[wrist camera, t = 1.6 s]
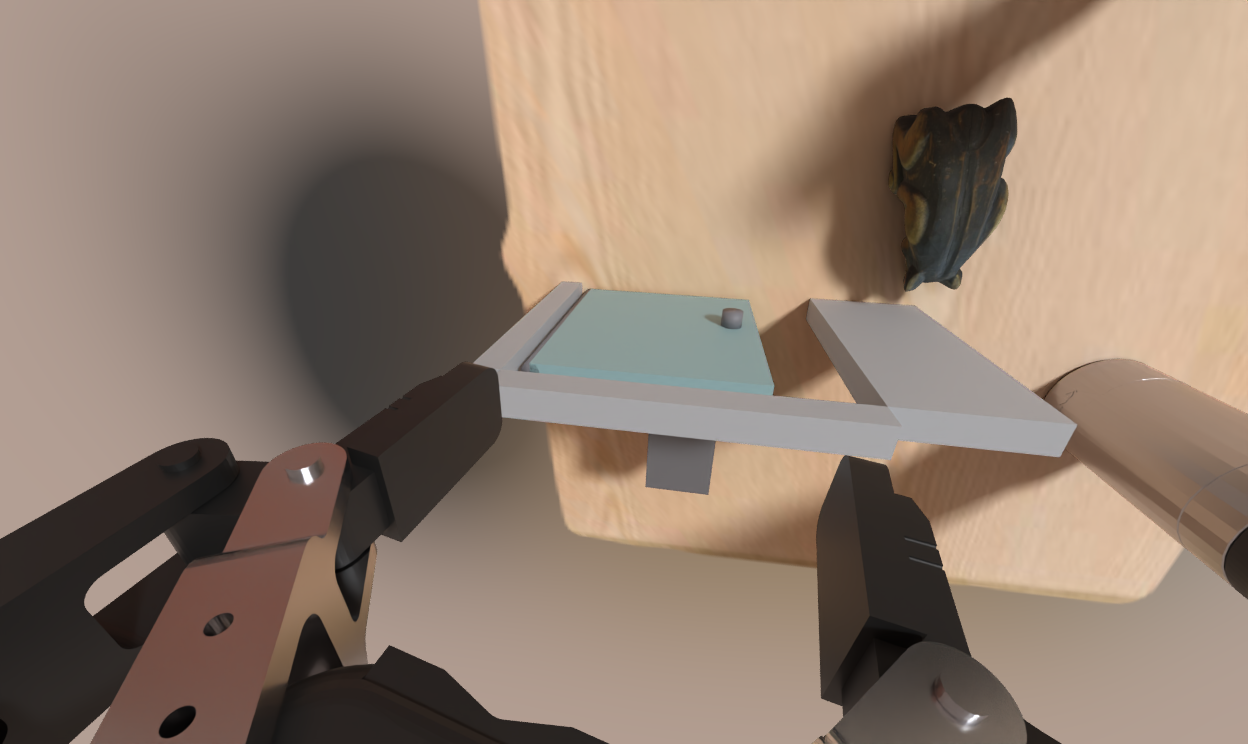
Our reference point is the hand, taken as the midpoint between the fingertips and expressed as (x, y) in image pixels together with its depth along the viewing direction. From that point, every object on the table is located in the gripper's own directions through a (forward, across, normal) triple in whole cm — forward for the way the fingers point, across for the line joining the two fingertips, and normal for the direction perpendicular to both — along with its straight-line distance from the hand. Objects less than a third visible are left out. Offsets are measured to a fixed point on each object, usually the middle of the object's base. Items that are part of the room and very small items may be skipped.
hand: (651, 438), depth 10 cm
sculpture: (+37, +12, +1) cm, 39 cm away
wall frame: (+34, -1, -9) cm, 35 cm away
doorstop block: (+33, -4, -20) cm, 38 cm away
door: (+32, -7, -9) cm, 34 cm away
